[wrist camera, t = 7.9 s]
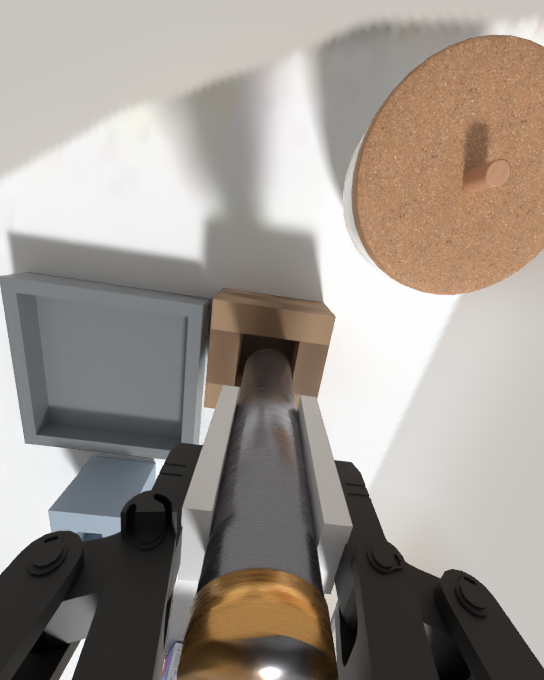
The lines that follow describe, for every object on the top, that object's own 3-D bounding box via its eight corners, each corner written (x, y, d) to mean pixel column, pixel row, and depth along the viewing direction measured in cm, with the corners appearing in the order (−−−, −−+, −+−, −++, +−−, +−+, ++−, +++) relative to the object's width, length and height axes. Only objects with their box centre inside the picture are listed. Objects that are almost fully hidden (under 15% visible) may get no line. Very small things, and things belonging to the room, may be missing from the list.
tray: (47, 425, 27) (25, 443, 24) (27, 272, 22) (-1, 276, 20) (198, 443, 27) (191, 462, 25) (210, 298, 23) (203, 305, 20)
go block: (215, 378, 25) (203, 407, 21) (223, 288, 23) (212, 299, 18) (305, 390, 26) (312, 420, 21) (323, 302, 23) (335, 316, 19)
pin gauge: (241, 387, 19) (173, 715, 6) (246, 344, 18) (180, 623, 5) (287, 393, 19) (320, 725, 6) (295, 351, 18) (355, 639, 5)
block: (96, 502, 30) (56, 563, 24) (93, 455, 28) (48, 510, 22) (155, 508, 30) (128, 570, 24) (155, 462, 28) (126, 518, 23)
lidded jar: (301, 243, 22) (322, 244, 13) (373, 80, 18) (469, -70, 10) (422, 299, 23) (518, 335, 14) (508, 157, 20) (701, 90, 11)
